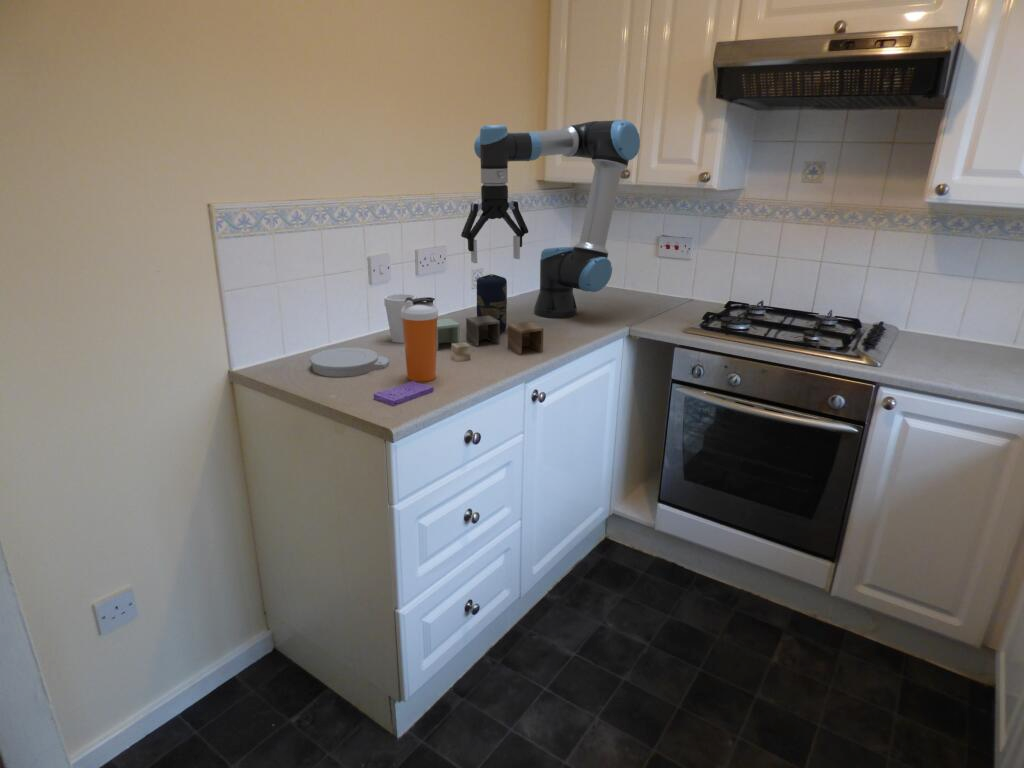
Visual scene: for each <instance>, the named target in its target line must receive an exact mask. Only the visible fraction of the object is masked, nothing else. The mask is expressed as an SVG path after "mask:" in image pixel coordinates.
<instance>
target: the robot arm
mask: <svg viewBox="0 0 1024 768" xmlns="http://www.w3.org/2000/svg"><path fill="white" fill-rule="evenodd" d="M474 140H475V141H474V144H473V149H474V153H475V154H476V156H477V157H478V159H480V183H481V184H483V185H481V186H480V188H481V189H480V195H481V196H480V197H481V202H480V203H474V202H472V203H471V204H470V211H469V214H468V217H467V219H466V222H465V224H464V226H463V229H462V232H461V233H460V236H461V237H462V238H463V239H467V250H468V251H469V252H470V262H471V263H473V264H478V244H477V243H478V241H477V239H475V238H476V237H477V236H478V234H479V232H480V231H481V230H482V228H483V227H484V225H485V224H486V223H487V222H488V221H489V220H495V219H498V220H500V219H503V220H504V221H505V222H506V223H507V225H508V227H509V228H510V229H511V230H512V231H513V232H514V234H515V235H513V237H512V239H513V240H512V241H513V242H512V243H513V245H512V246H513V251H512V252H513V253H512V254H513V259H515V260H520V259H521V248H522V247H523V237H524V236H525V235H526V234H528V233H529V228H528V226H527V224H526V222H525V220H524V217H523V216H522V214H521V211H520V208H519V202H518V201H514V200H512V201H509V200H508V199H509V187H508V185H507V183H508V181H509V180H508V179H509V178H508V177H509V172H508V170H509V169H508V168H509V165H508V164H509V162H530V161H536V160H537V159H539V158H540V157H546V156H557V155H562V156H564V157H566V158H572V157H577V158H584V159H591V163H592V164H593V166H594V172H593V175H592V181H591V185H590V186H591V187H590V189H589V190H590V191H589V193H588V194H589V195H588V199H587V200H588V201H587V204H586V205H587V206H586V209H585V213H584V214H585V215H584V220H583V224H582V229H581V233H580V237H579V242H577V243H576V244H575V245H574V246H566V247H565V246H562V247H549V248H544V249H543V250H542V251H541V252H540V253H541V254H540V260H539V261H540V262H539V263H540V264H539V265H540V266H539V276H540V277H539V292H538V295H537V299H536V300H535V304H534V307H533V311H534V312H533V313H534V314H535V315H536V316H540V317H543V318H552V319H562V318H563V319H565V318H571V317H575V316H576V315H577V314H578V306H577V302H576V298H575V295H574V289H577V290H580V291H582V292H591V293H595V292H599V291H601V290H603V288H605V287H606V286H607V284H608V283H609V282H610V280H611V277H612V274H613V267H612V261H611V260H610V259H609V258H608V256H609V251H608V250H607V248H606V245H607V240H608V235H609V231H610V225H611V222H612V218H613V217H612V216H613V212H614V208H615V203H616V197H617V194H618V188H619V184H620V180H621V174H622V173H623V172H624V171H626V170H627V169H628V165H629V161H631V160H633V159H635V158H636V156H637V155H638V153H639V150H640V147H641V139H640V133H639V132H638V128H637V127H636V125H635V124H634V123H633V122H632V121H629V120H621V119H616V120H615V119H614V120H600V121H598V120H593V121H588V122H583V123H579V124H578V123H577V124H573V125H565V126H563V127H562V128H561V129H546V130H533V131H532V130H528V131H513V132H508V127H507V126H506V125H499V124H498V125H495V124H494V125H493V124H492V125H491V124H489V125H487V124H486V125H482V126H481V128H480V131H479V135H478V136H477V137H476V139H474ZM509 209H510V210H511V212H512V214H513V217H514V219H515V221H516V222H515V221H514V220H513V219H512V217H511V215H510V214H509V213H508V210H509ZM480 210H481V211H482V212H481V214H480V215H479V218H478V220H477V221H476V219H477V216H478V213H479V212H480ZM475 221H476V222H475ZM516 223H517V224H516Z"/></svg>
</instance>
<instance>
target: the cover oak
mask: <svg viewBox="0 0 1024 768" xmlns="http://www.w3.org/2000/svg"><path fill="white" fill-rule="evenodd" d="M465 322H466V323H465V325H466V332H465V333H466V335H465V336H466V337H465V338H466V339H465V341H467V342H468V343H469V344H471V345H472V346H474V347H475V348H478V347H479V345H480V343H479V340H489V341H491V342H493V343H495V344H496V345H500V341H501V340H500V339H501V335H500V333H501V332H500V321H499V320H497V319H495V318H493V317H491V316H480V317H477V316H470V317H465Z"/></svg>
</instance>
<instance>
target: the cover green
mask: <svg viewBox="0 0 1024 768" xmlns="http://www.w3.org/2000/svg"><path fill="white" fill-rule="evenodd" d="M446 343H450V344H453V343H461V324H460V323H459V322H457V321H455V320H454V319H452V318H451V317H450V318H442V319H437V347H436V352H438V351H439V344H446Z"/></svg>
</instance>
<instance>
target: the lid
mask: <svg viewBox="0 0 1024 768" xmlns="http://www.w3.org/2000/svg"><path fill="white" fill-rule="evenodd" d="M309 361H310V364H311V365H312V370H313V372H314V373H316V374H318V375H321V376H325V377H332V378H333V377H334V378H335V377H336V378H337V377H340V378H341V377H344V378H345V377H351V376H352V377H353V376H359V375H364V374H367V373H369V372H372V371H373V372H374V371H379V370H384V369H387V368H389V367H390V359H388V357H387V356H383V355H381V354H378V353H377V352H376V351H374V350H372V349H368V348H364V347H337V348H330V349H325V350H322V351H319V352H316V353H314V354H313V355H312V356H311V357H310V358H309Z"/></svg>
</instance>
